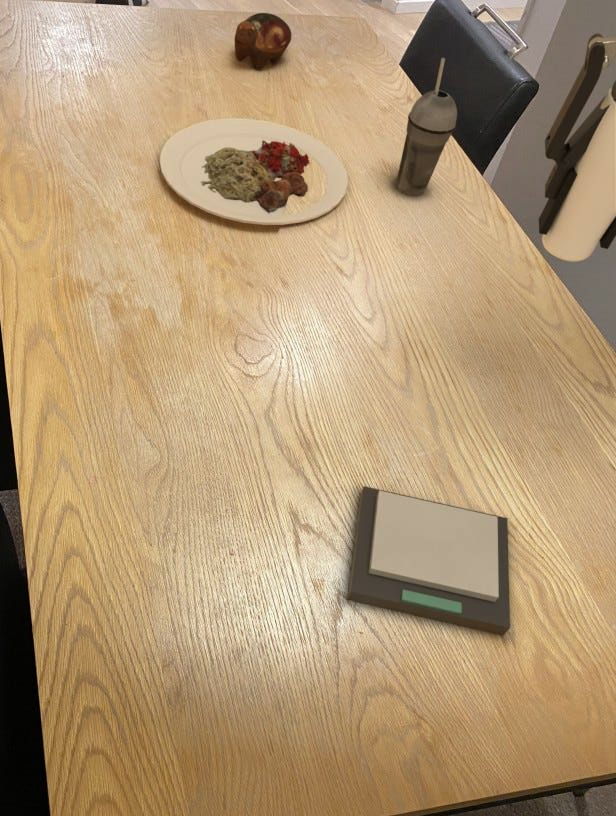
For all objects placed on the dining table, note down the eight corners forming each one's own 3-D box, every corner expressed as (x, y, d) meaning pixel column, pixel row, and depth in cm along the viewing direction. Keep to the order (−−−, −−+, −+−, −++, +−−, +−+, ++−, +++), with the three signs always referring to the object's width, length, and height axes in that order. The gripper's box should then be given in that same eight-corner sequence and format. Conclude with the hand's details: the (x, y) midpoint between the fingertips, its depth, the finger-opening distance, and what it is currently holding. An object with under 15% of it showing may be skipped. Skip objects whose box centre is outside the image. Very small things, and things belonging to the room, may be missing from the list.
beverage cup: (430, 209, 121) (478, 76, 105) (385, 201, 121) (426, 66, 105) (430, 185, 125) (476, 53, 109) (386, 177, 126) (426, 44, 109)
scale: (498, 531, 85) (511, 512, 82) (500, 639, 77) (514, 623, 74) (358, 499, 86) (366, 480, 83) (345, 604, 78) (353, 586, 75)
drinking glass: (552, 271, 78) (634, 121, 65) (521, 231, 81) (593, 83, 69) (608, 266, 79) (698, 119, 67) (575, 227, 83) (655, 81, 70)
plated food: (130, 200, 115) (130, 179, 112) (196, 112, 132) (197, 92, 129) (320, 255, 111) (325, 234, 109) (362, 158, 128) (368, 138, 126)
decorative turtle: (215, 64, 143) (220, 15, 137) (260, 47, 151) (266, -1, 145) (257, 80, 140) (264, 30, 133) (301, 62, 148) (309, 14, 142)
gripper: (602, -39, 58) (483, 233, 77) (849, 13, 57) (666, 275, 76) (596, -71, 62) (484, 194, 81) (825, -23, 61) (658, 234, 80)
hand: (572, 233), depth 79 cm, fingers closed on drinking glass, 6 cm apart
